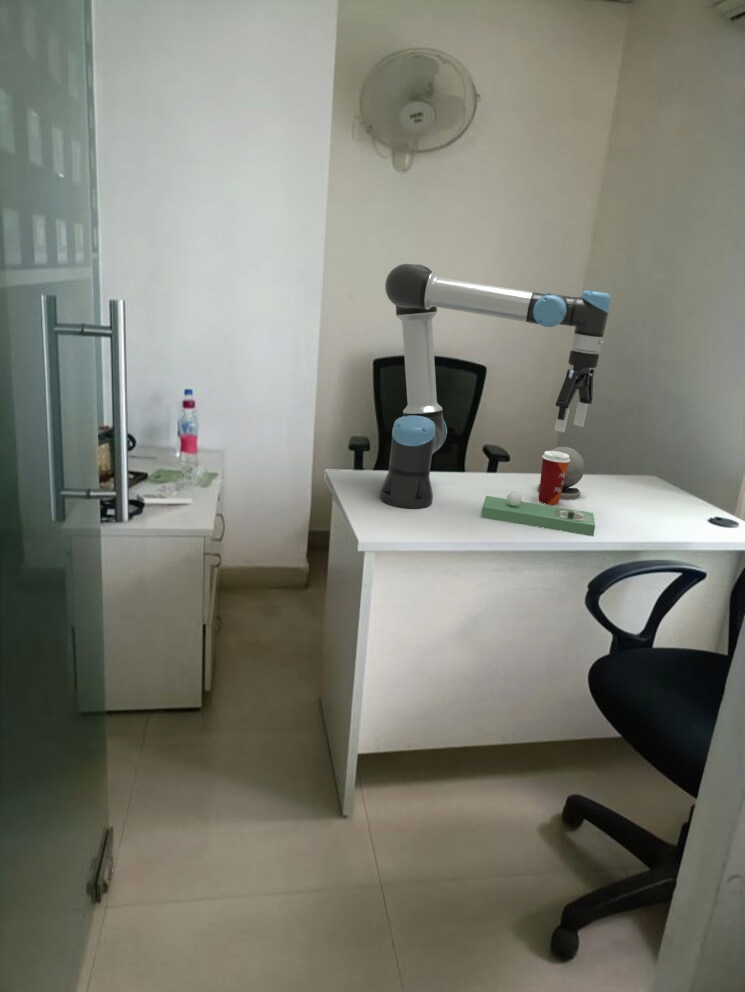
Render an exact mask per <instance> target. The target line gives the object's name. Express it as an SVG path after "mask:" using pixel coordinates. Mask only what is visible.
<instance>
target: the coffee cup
mask: <svg viewBox="0 0 745 992" xmlns="http://www.w3.org/2000/svg"><path fill="white" fill-rule="evenodd" d="M541 458H542V462H541V472H540V480H539V484H540V488H539V492H538V499H537V500H539V501H538V502H539V503H541V504H544V503H545V504H544V505H548V504H549V505H548V506H556V505H555V504H557V505H558V504H559V502H560V500H561V499H560V495H561V491H562V487H563V483H564V479H565V475H566V471H567V467H568V463H569V462H570V459H569V455H568V454H566V453H562V452H557V451H551V450H546V451H544V452H543V455H541Z"/></svg>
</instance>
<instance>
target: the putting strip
mask: <svg viewBox="0 0 745 992" xmlns="http://www.w3.org/2000/svg"><path fill="white" fill-rule="evenodd" d="M480 518H482V519H489V520H496V521H502V522H507V523H512V524H513V523H514V524H519V525H524V524H525V525H526V526H530V525H531V526H532V527H536V526H538V528H542V527H544V528H543V529H548V528H549V529H550V530H554V529H555V530H554V531H560V530H562V531H561V532H566V531H567V532H568V533H574V534H579V535H584V536H590V535H591V537H594V535H595V534H594V533H595V530H596V529H595V528H596V522H595V515H594V512H589V511H583V510H578V509H577V510H576V509H571V508H565V507H559V506H554V505H548V504H542V503H541V504H540V503H535V502H534V503H533V502H528V501H522V500H521V503H520V504H519V505H517V506H511V505H509V504H508V502H507V498H503V497H498V496H492V495H486V496H485V498H484V500H483V504H482V509H481V514H480Z"/></svg>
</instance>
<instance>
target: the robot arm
mask: <svg viewBox="0 0 745 992" xmlns="http://www.w3.org/2000/svg"><path fill="white" fill-rule="evenodd" d="M384 289H385V293H386V296H387V298H388V300H389V301H390V303H392V304H393V305H395V315H396V317H397V318H398V319H399V320H400V322H401V325H402V328H401V329H402V339H403V355H404V367H405V368H404V372H405V383H406V385H405V387H406V397H407V398H406V400H407V405H406V407H405V408H404V409H403V410H402V414H403V416H401V417H398V418H397V419H396V420H394V423H393V427H392V430H391V443H390V453H389V463H388V464H389V465H388V472H387V474H386V476H385V478H384V481H383V483H382V485H381V488H380V490H379V499H380V500H381V501H382V502H384V503H385V504H388V505H390V506H393V507H394V506H395V507H397V508H405V509H422V508H427V507H430V506H432V504H433V497H434V495H433V489H432V483H431V478H430V472H431V467H432V466H431V464H432V457H433V455H434V453H435V452H437V451H438V450H440V448H441V447H442V446H443V445H444V443H445V442H446V439H447V437H448V436H447V434H448V427H447V425H446V422H445V420H444V414H443V407H442V406H441V405H440V404H439V403H438V399H437V383H436V379H437V378H436V366H435V350H434V347H435V345H434V331H433V329H434V328H433V319H434V317H435V316H436V315H437V314H438V308H441V309H446V310H451V311H458V312H464V313H469V314H470V313H471V314H477V315H482V316H488V317H495V318H499V319H505V320H512V321H517V322H524V323H530V324H535V325H539V326H542V327H546V328H553V327H556V326H557V325H560V326H569V327H575V328H574V333H573V336H572V342H571V344H570V345H571V349H572V350H570V352H569V357H568V364H569V365H570V366H573V368H572V369H567V371H566V375H565V378H564V381H563V384H562V387H561V389H560V392H559V394H558V397H557V400H556V402H555V407H558V408H557V409H558V410H557V413H556V414H557V415H556V418H555V425H554V431H555V432H556V431H557V432H559V433H565V432H566V429H567V423H568V417H569V415H570V413H569V412H570V408H569V407H570V404H571V403H572V401H573V399H574V397H575V394H576V393H577V390H578V397H579V402H577V406H576V411H575V413H574V414H575V415H574V419H573V420H574V421H573V425H574V426H577V427H581V428H583V427H584V425H585V420H586V415H587V412H588V411H587V410H588V406H589V404H590V405H592V403H593V395H594V394H593V391H594V389H593V388H594V376H595V375H594V373H595V368H597V367H598V362H599V358H600V355H599V354H598V353H599V352H600V351H601V347H602V346H603V345H604V341H603V338H604V335H605V329H606V325H607V321H608V318H609V311H610V305H611V299H612V298H611V296H610V294H609V293H606V292H600V291H592V290H591V291H590V290H584V291H582V294H581V295H580V296H578V297H577V296H576V297H575V296H569V295H568V296H567V295H561V294H553V293H549V292H534V291H528V290H523V289H517V288H510V287H503V286H499V285H498V286H497V285H492V284H485V283H480V282H472V281H466V280H461V279H455V278H454V279H453V278H448V277H442V276H438V275H437V273H436V272H435V271H433V270H432V269H431V268H429V266H428V267H427V266H426V265H423V264H416V263H414V264H413V263H402V264H399V265H397V266H395V267H394V268H392V269H391V271H390V272H389V273H388V275H387V277H386V280H385V288H384Z"/></svg>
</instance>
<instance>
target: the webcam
mask: <svg viewBox="0 0 745 992" xmlns="http://www.w3.org/2000/svg"><path fill="white" fill-rule="evenodd" d="M550 451H557V452H562V453H566V454H568V455H569V459H570V462H569V463H568V467H567V471H566V475H565V479H564V483H563V487H562V491H561V495H560V499H559V500H565V501H566V500H568V501H570V500H577V499H579V498H580V494H581V492H580V489H579V488H578V487H573V486H575V485H577V484H578V483H579V482H581V479H582V478H583V477H584V476H583V475H584V473H585V465H586V464H585V461H584V458H583V456H582V455H581V454H580V452H578V451H577V450H576V449H574V448H573V447H572V448H571V447H570V446H569V447H568V446H558V447H555V448H552V449H551V450H550ZM539 488H540V483H539V484H538V487H537V491H538V493H539Z"/></svg>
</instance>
